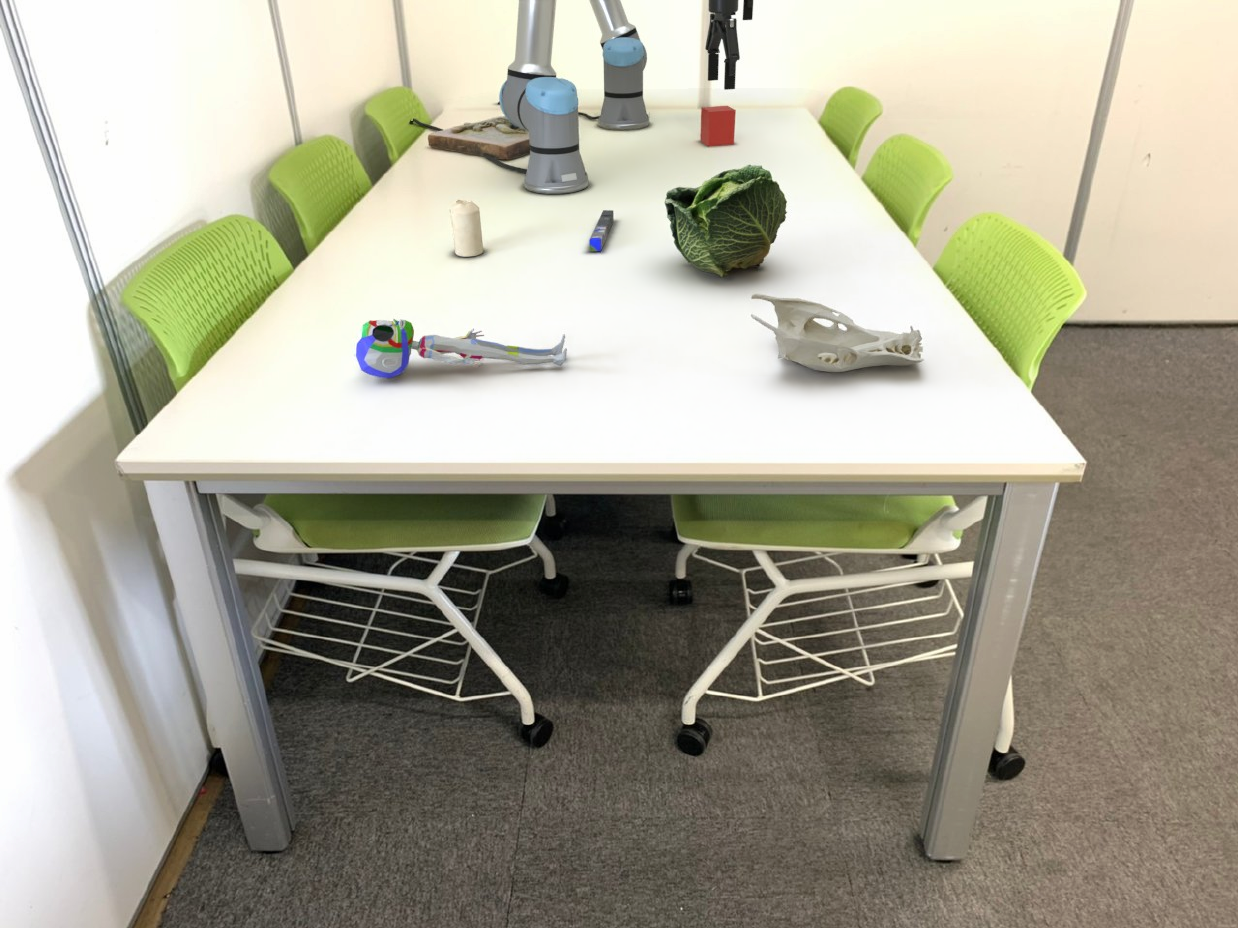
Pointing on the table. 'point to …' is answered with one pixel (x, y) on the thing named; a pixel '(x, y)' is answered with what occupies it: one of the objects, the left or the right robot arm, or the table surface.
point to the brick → (717, 125)
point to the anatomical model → (835, 339)
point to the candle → (466, 228)
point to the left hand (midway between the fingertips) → (721, 84)
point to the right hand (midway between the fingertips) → (738, 17)
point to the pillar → (601, 230)
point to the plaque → (484, 139)
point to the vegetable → (727, 219)
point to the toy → (435, 349)
